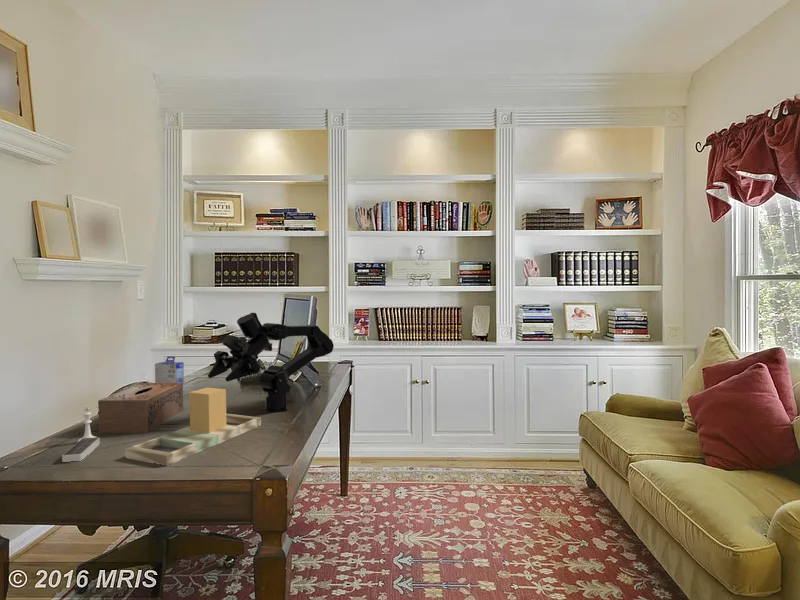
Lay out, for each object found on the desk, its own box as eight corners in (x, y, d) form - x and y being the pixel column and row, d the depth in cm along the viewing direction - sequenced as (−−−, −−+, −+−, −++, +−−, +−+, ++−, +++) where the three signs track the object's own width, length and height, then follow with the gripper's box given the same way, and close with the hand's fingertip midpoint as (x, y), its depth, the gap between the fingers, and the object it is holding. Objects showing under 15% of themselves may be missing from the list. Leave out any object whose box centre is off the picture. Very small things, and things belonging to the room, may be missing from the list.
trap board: (225, 421, 168) (225, 413, 167) (261, 425, 162) (260, 417, 162) (125, 458, 133) (125, 448, 133) (166, 465, 128) (166, 455, 128)
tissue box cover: (142, 411, 182) (141, 382, 181) (183, 411, 182) (182, 382, 181) (99, 433, 156) (98, 400, 156) (147, 433, 156) (146, 400, 155)
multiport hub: (61, 464, 130) (61, 455, 130) (82, 446, 144) (82, 438, 144) (81, 463, 131) (81, 454, 131) (100, 445, 145) (99, 437, 145)
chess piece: (79, 439, 149) (79, 405, 148) (99, 438, 151) (98, 403, 150) (75, 445, 144) (75, 409, 144) (96, 443, 146) (95, 407, 146)
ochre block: (207, 423, 155) (207, 387, 155) (226, 426, 153) (225, 389, 152) (190, 430, 149) (189, 392, 149) (209, 433, 146) (208, 394, 146)
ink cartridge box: (185, 391, 211) (184, 356, 211) (176, 394, 206) (175, 358, 205) (163, 390, 213) (162, 355, 213) (154, 393, 208) (153, 357, 207)
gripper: (224, 327, 175) (188, 355, 164) (259, 330, 164) (223, 361, 153) (239, 353, 180) (204, 382, 169) (274, 358, 168) (240, 390, 158)
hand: (217, 378), depth 162 cm, fingers open, 9 cm apart
